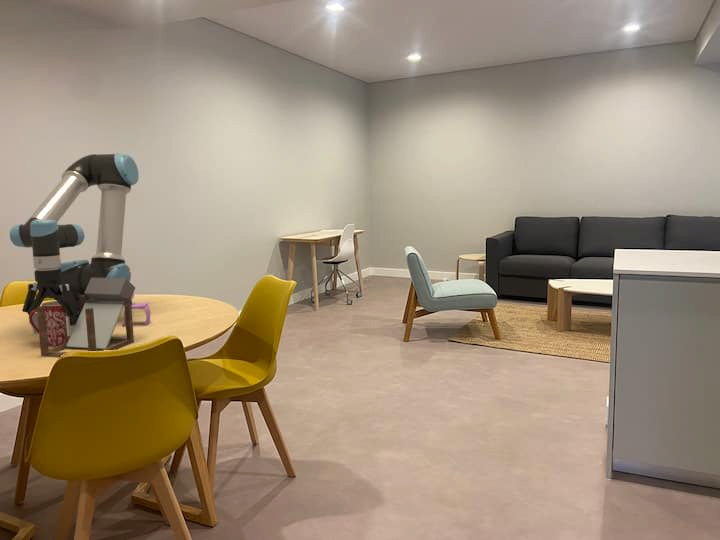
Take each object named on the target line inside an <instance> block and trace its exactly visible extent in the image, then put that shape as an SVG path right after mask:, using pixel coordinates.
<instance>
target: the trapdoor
mask: <svg viewBox="0 0 720 540" xmlns="http://www.w3.org/2000/svg"><path fill="white" fill-rule="evenodd" d="M135 290H136V286H134V284H133V283H131V281H130V282H129V281H128V280H127V279H126V278H91V279H90V282H89V284H88V286H87V288H86V291H85V293H84V294H86V295H87V296H88V297H89V298H90V299H92V300H86V301H85V305H84V307H83V309H82V312H81V314H80V316H79V318H78V321H77V323H76V325H75V327H74V330H73V332H72V334H71V336H70V339H69V341H68V343H67V345H66V346H67V347H69V348H79V349H80V348H81V349H82V348H83V349H88V337H87V325H86V314H85V309H87V308H93V312H94V324H95V336H96V349H97V350H102V349H105V348H107V347H109V344H110V343H111V342H110V339H111V337H113V334H114V331H115V328H116V327H117V324H118V321H119V318H120V316H121V314H122V311H123V309H124V304H123V302H124V297H131V298H132V295H133V293H134V294H135Z"/></svg>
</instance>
